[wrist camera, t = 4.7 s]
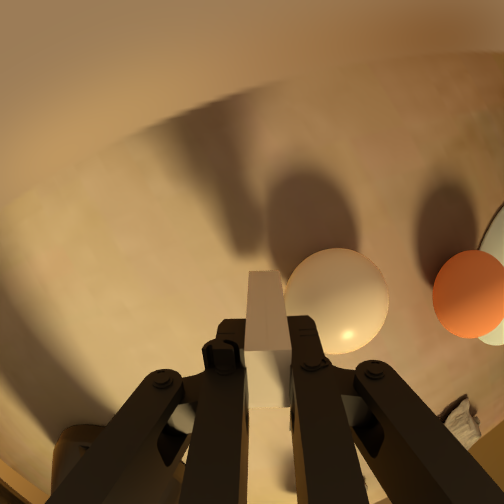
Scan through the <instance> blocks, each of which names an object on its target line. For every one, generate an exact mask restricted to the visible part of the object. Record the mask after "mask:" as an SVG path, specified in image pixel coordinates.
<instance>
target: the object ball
mask: <svg viewBox="0 0 504 504" xmlns="http://www.w3.org/2000/svg"><path fill="white" fill-rule="evenodd" d="M433 306H434V310H435V313H436V315H437V317H438V319H439V321H440V322H441V324H442V325H443V326H444V327H445V328H446V329H447V330H448V331H449V332H451V333H452V334H454V335H456V336H459V337H463V338H477V337H481V336H484V335H486V334H488V333H489V332H491V331H492V330H494V329H495V328H496V327H497V326H498V325H499V324H500V322H501V321H502V320H503V318H504V267H503V265H502V264H501V263H500V262H499V261H498V260H497V259H496V258H495V257H494V256H492V255H491V254H489V253H486V252H484V251H479V250H468V251H463V252H460V253H458V254H456V255H454V256H453V257H451V258H450V259H449V260H448V261H447V262H446V263H445V264H444V265H443V266H442V268H441V269H440V271H439V273H438V275H437V277H436V279H435V282H434V287H433Z"/></svg>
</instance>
